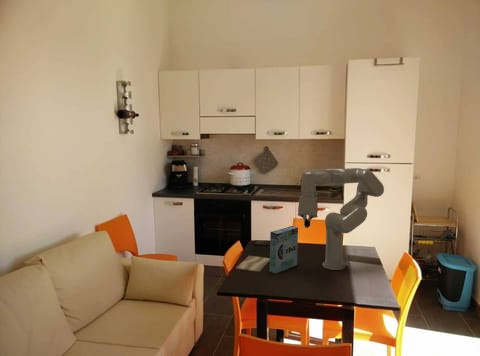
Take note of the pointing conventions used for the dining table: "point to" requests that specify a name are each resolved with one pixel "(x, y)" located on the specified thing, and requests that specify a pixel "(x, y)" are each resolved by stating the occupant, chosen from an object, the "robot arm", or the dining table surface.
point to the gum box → (283, 249)
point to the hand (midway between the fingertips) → (307, 227)
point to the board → (253, 263)
